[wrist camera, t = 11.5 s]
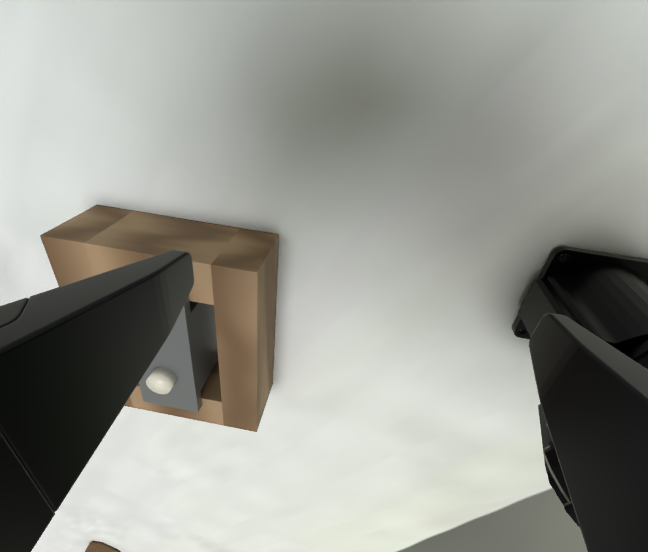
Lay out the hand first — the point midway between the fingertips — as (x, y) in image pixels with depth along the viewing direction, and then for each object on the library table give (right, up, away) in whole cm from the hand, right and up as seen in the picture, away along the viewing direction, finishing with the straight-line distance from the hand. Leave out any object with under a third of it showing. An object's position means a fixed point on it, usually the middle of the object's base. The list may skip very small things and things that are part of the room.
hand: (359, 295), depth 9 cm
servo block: (-10, -2, +17) cm, 20 cm away
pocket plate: (-10, -2, +17) cm, 20 cm away
